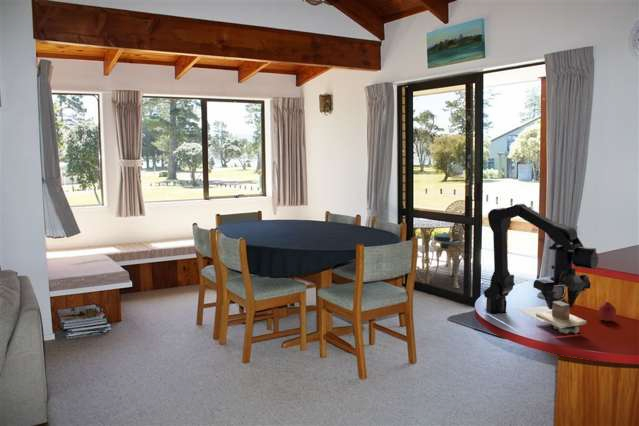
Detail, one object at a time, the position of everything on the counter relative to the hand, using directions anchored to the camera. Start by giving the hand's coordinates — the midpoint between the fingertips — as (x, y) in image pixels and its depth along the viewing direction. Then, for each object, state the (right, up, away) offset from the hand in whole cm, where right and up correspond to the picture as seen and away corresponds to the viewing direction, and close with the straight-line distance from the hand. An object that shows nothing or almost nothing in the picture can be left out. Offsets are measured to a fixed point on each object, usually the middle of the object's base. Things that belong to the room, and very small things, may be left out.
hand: (560, 308), depth 189 cm
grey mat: (+1, -5, +17) cm, 18 cm away
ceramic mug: (+13, -3, +38) cm, 40 cm away
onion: (+21, -7, +9) cm, 24 cm away
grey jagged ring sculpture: (+1, -8, +1) cm, 8 cm away
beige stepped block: (0, -4, +1) cm, 4 cm away
